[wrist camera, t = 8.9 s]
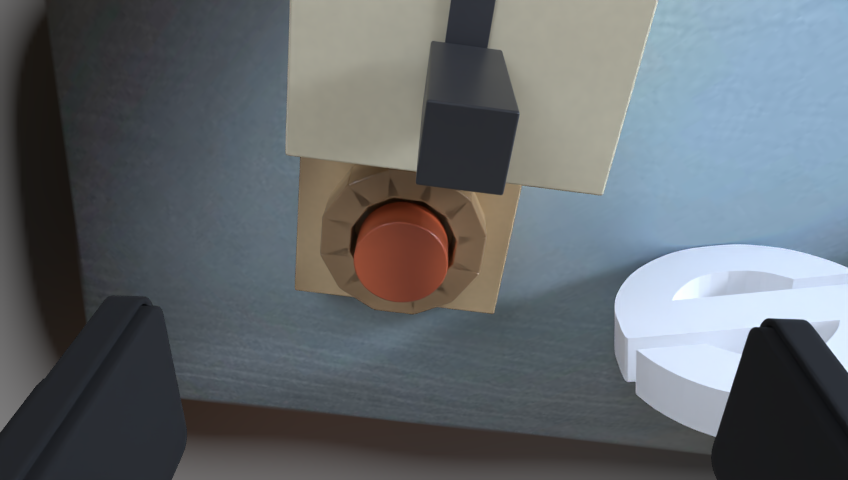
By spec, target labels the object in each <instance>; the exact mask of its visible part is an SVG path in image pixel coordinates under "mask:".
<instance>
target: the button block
mask: <svg viewBox="0 0 848 480" xmlns="http://www.w3.org/2000/svg"><path fill="white" fill-rule="evenodd" d="M521 188H522V185H515V184H508V183H506V184H505V189H504V193H503V195H494V194H486V193H478V192H470V191H463V190H455V189H447V188H439V187H431V186H423V185H417V184H416V172H414V171H406V170H398V169H391V168H383V167H375V166H367V165H359V164H351V163H344V162H336V161H328V160H320V159H312V158H305V157H300V175H299V199H298V223H297V247H296V271H295V290H299V291H307V292H316V293H324V294H332V295H341V296H349V297H354V298H356V299H358V300H359V301H361V302H362V303H364V304H366V305H367V306H369V307H370V308H372V309H374V310H381V311H389V312H397V313H406V314H417V313H420V312H423V311H426V310H429V309H432V308H435V307H440V308H448V309H457V310H465V311H473V312H482V313H490V314H494V311H495V307H496V302H497V298H498V293H499V288H500V284H501V279H502V275H503V270H504V266H505V261H506V256H507V252H508V247H509V243H510V238H511V233H512V229H513V224H514V220H515V215H516V210H517V206H518V201H519V197H520V192H521ZM395 202H409V203H414V204H417V205H420V206H423V207H425V208H427V209H428V210H430V211H431V212H432V213H434V214H435V215H436V216H437V217H438V218H439V219H440V221H441V222H442V224H443V225H444V227H445V230H446V232H447V237H448V269H447V273H446V276H445V278H444V280H443V282H442V283H441V285H440V286H439V287H438V288H437V289H436V290H435V291H434V292H433V293H431V294H430V295H428V296H427V297H425V298H422V299H420V300H417V301H412V302H392V301H388V300H384V299H382V298H380V297H378V296H376V295H374V294H372V293H371V292H370V291H368V290H367V289H366V288H365V287H364V286H363V284H362V283H361V282H360V280H359V279H358V277H357V274H356V272H355V268H354V252H355V248H356V243H357V239H358V234H359V231H360V228H361V225H362V223H363V222H364V220H365V219H366V217H367V216H368V215H369V214H370V213H372V212H373V211H374V210H376V209H377V208H379V207H381V206H383V205H386V204H390V203H395Z"/></svg>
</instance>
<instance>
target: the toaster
mask: <svg viewBox="0 0 848 480" xmlns="http://www.w3.org/2000/svg"><path fill="white" fill-rule="evenodd" d="M657 3H658V0H290V15H289V48H288V81H287V115H286V148H285V152H286V155H289V156H297V157H305V158H312V159H320V160H328V161H336V162H344V163H351V164H359V165H367V166H375V167H383V168H391V169H398V170H406V171H414V172H417V161H418V149H419V138H420V127H421V116H422V106H423V98H424V91H425V83H426V75H427V68H428V60H429V52H430V45H431V42H432V41H437V42H445V43H452V44H459V45H467V46H474V47H481V48H489V49H496V50H501V51H502V52H503V56H504V59H505V63H506V66H507V70H508V73H509V77H510V80H511V84H512V88H513V91H514V95H515V98H516V102H517V105H518V109H519V112H520V116H519V120H518V125H517V130H516V135H515V140H514V145H513V150H512V155H511V159H510V164H509V169H508V174H507V179H506V183H508V184H515V185H523V186H531V187H539V188H547V189H554V190H562V191H570V192H578V193H586V194H593V195H603V193H604V189H605V186H606V182H607V179H608V175H609V172H610V168H611V165H612V161H613V158H614V154H615V151H616V147H617V144H618V140H619V137H620V133H621V130H622V126H623V123H624V119H625V116H626V112H627V109H628V105H629V102H630V98H631V95H632V91H633V88H634V84H635V80H636V77H637V73H638V70H639V66H640V63H641V59H642V56H643V52H644V49H645V45H646V42H647V38H648V35H649V31H650V28H651V24H652V21H653V17H654V14H655V10H656V7H657Z"/></svg>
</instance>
